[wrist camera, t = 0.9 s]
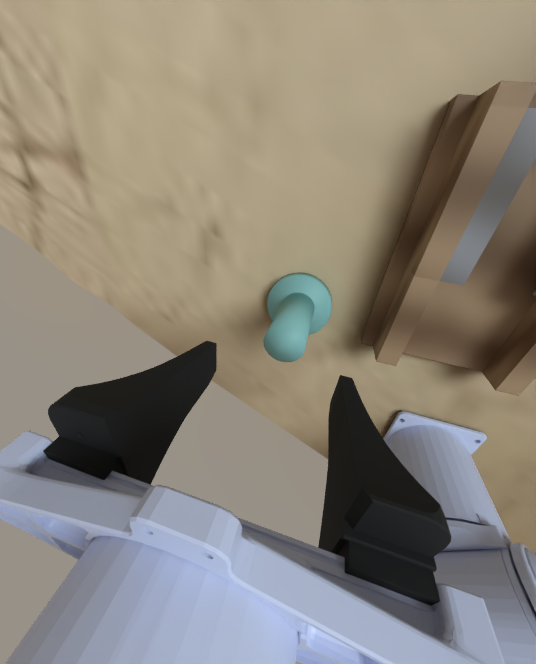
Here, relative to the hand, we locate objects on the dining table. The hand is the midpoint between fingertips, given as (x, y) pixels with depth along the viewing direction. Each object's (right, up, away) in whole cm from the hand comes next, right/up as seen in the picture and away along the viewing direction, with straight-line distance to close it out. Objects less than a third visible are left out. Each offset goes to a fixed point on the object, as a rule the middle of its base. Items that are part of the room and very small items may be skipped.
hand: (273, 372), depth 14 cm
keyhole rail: (+15, +7, +3) cm, 17 cm away
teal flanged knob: (+3, +5, +8) cm, 10 cm away
